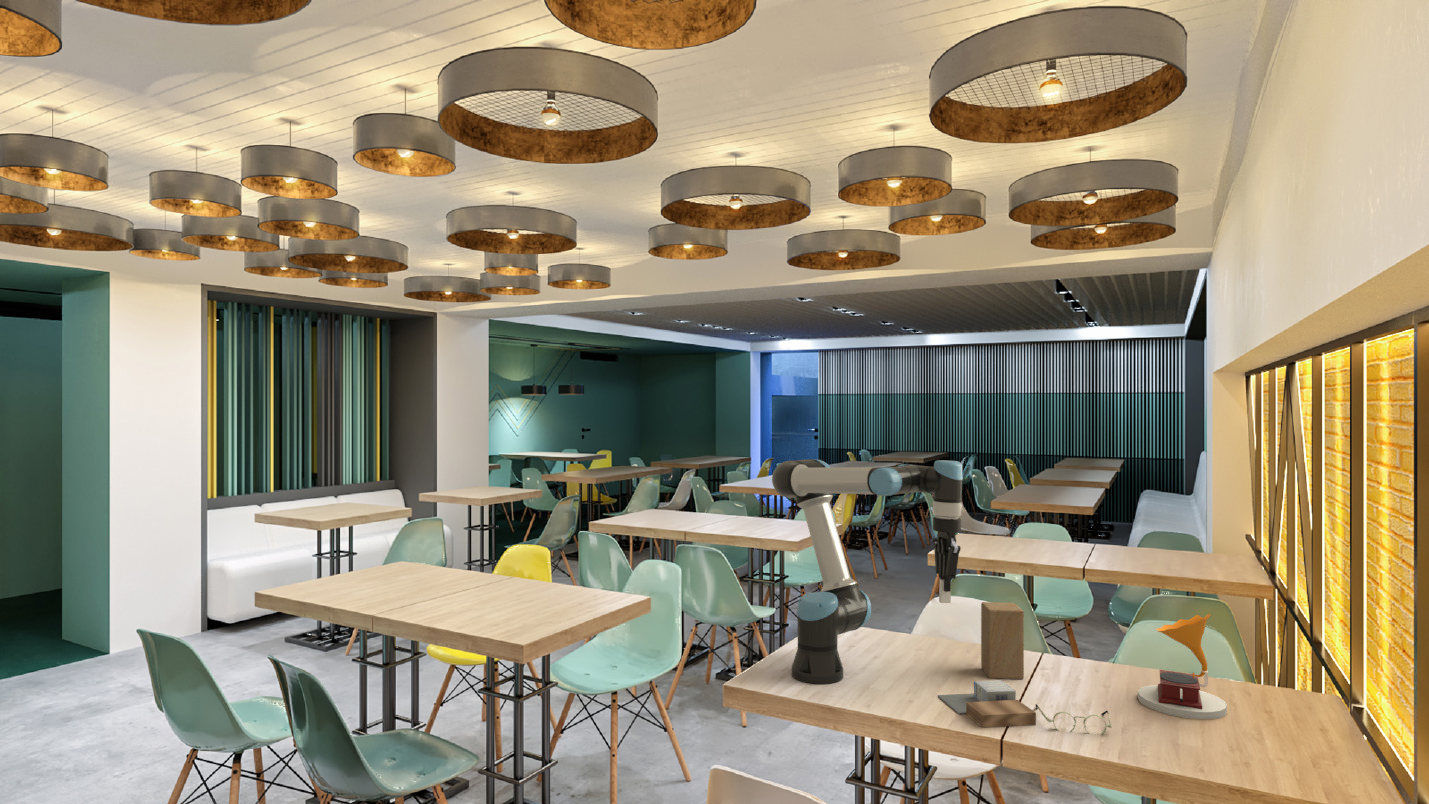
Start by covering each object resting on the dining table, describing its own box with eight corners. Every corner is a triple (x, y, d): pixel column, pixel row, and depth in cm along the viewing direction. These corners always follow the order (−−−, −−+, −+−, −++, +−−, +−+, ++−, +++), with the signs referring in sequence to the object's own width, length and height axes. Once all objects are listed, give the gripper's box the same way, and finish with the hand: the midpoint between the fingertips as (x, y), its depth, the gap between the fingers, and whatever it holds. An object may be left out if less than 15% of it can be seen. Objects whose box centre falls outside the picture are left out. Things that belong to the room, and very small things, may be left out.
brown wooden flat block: (982, 727, 198) (982, 715, 198) (966, 714, 207) (966, 702, 207) (1035, 724, 200) (1035, 712, 200) (1017, 711, 209) (1017, 699, 209)
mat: (958, 714, 206) (958, 712, 206) (937, 696, 219) (937, 695, 219) (1020, 711, 209) (1021, 709, 209) (996, 693, 222) (996, 692, 222)
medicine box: (1016, 707, 210) (1001, 695, 219) (1016, 690, 210) (1001, 679, 219) (987, 708, 209) (973, 696, 218) (987, 691, 210) (973, 680, 218)
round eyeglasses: (1042, 731, 197) (1042, 710, 197) (1034, 709, 212) (1034, 690, 212) (1118, 738, 193) (1118, 717, 193) (1104, 715, 207) (1104, 696, 207)
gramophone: (1223, 699, 218) (1223, 607, 218) (1230, 725, 200) (1230, 624, 200) (1138, 687, 228) (1138, 598, 228) (1137, 710, 210) (1137, 614, 210)
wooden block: (1014, 668, 243) (1014, 602, 243) (1024, 679, 233) (1024, 610, 234) (980, 667, 244) (980, 601, 244) (988, 678, 234) (988, 609, 235)
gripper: (970, 520, 216) (968, 608, 216) (949, 513, 229) (947, 596, 229) (944, 520, 215) (941, 608, 215) (924, 513, 227) (922, 596, 228)
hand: (944, 602), depth 222 cm, fingers closed
